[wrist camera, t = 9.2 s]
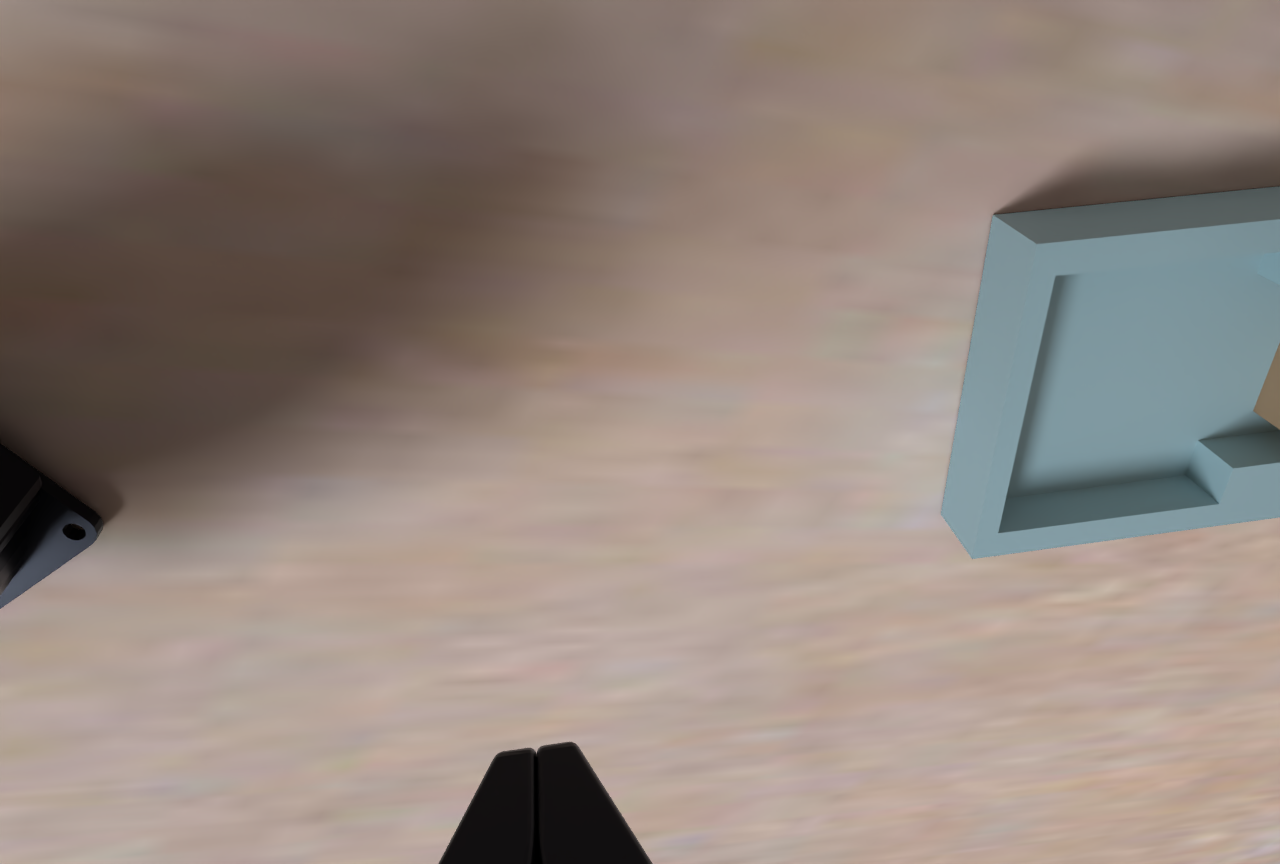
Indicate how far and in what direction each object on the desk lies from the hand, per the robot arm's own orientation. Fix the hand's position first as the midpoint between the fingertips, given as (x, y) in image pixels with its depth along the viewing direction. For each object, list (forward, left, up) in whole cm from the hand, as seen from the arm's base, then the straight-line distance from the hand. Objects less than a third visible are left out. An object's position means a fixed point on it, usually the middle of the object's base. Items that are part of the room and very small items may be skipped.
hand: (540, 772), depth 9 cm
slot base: (+17, -14, -13) cm, 26 cm away
